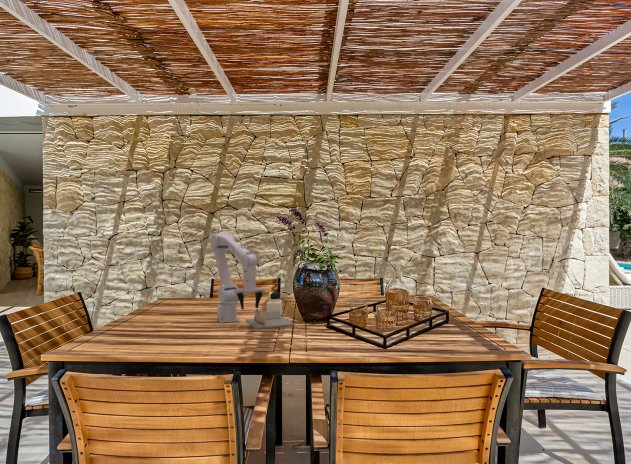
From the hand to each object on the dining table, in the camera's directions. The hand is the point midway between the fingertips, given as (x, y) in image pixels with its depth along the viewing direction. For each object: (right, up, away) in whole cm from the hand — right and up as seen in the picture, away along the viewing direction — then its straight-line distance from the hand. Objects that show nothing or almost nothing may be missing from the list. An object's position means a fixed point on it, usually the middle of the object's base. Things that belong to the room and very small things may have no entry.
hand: (249, 308), depth 219 cm
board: (+9, -8, +7) cm, 14 cm away
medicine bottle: (+9, -8, +27) cm, 30 cm away
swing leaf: (+5, -7, +4) cm, 10 cm away
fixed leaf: (+7, -7, +11) cm, 15 cm away
